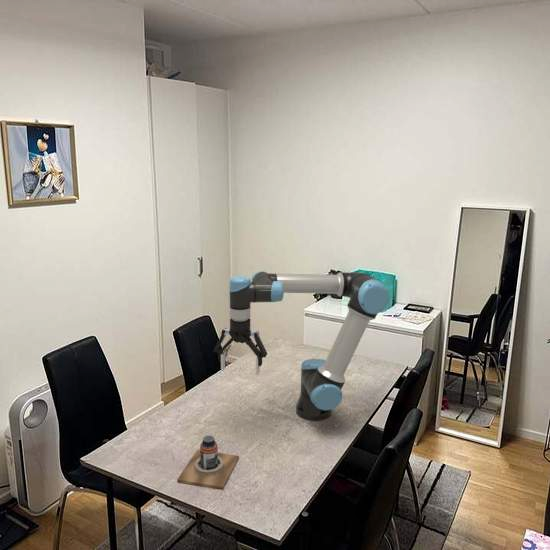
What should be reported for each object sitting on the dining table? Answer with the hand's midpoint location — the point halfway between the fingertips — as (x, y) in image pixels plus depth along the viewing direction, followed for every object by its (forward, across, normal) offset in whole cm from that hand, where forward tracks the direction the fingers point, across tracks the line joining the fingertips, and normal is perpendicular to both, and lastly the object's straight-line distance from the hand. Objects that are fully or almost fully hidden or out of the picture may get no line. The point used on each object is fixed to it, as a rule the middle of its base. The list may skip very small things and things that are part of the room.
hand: (240, 371), depth 193 cm
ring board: (+27, +4, +24) cm, 36 cm away
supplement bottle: (+26, +4, +24) cm, 35 cm away
